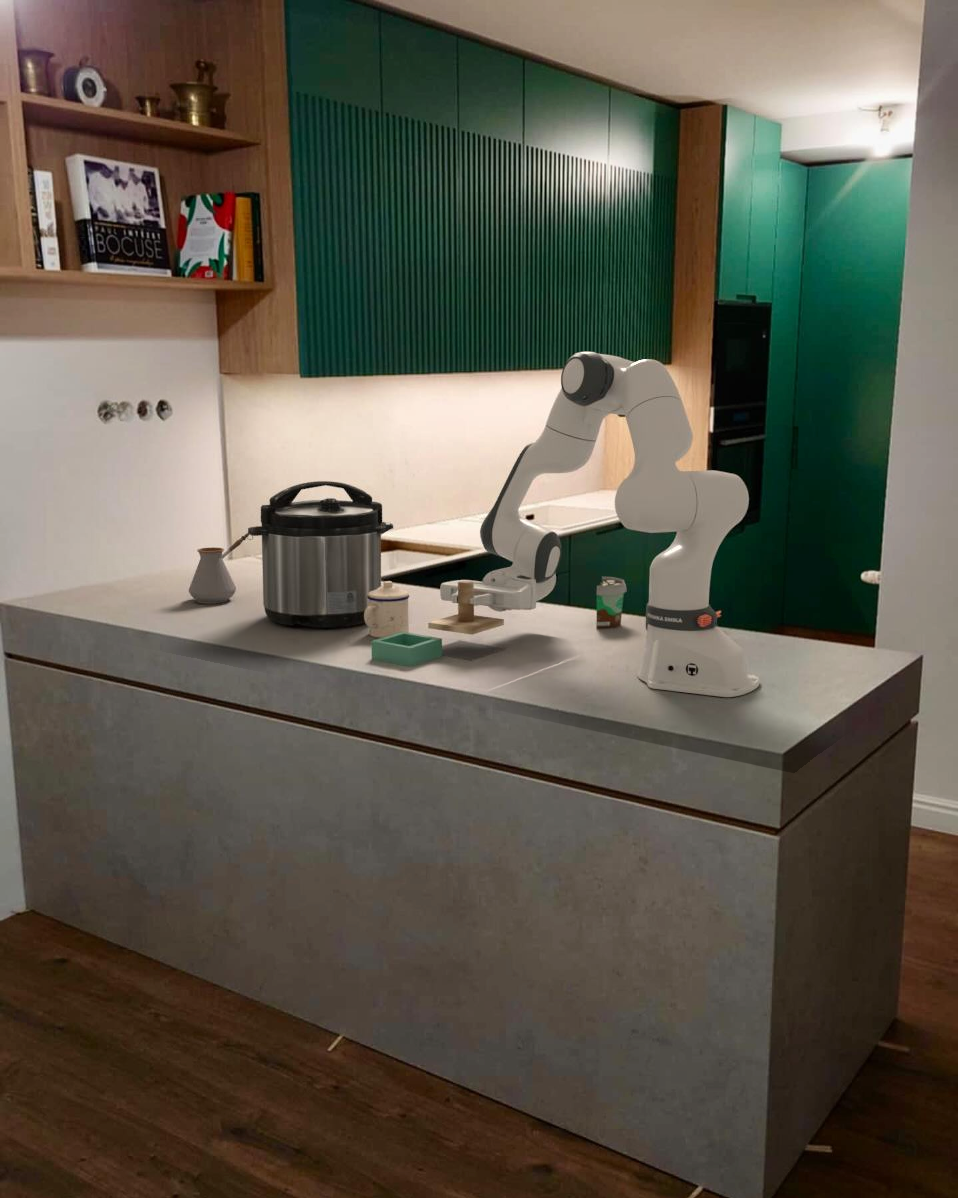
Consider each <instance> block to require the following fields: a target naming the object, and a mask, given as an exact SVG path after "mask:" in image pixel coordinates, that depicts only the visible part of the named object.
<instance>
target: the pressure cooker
mask: <svg viewBox="0 0 958 1198" xmlns="http://www.w3.org/2000/svg"><path fill="white" fill-rule="evenodd" d="M325 486H328V487H333V488H339V489H343V490H344V491H345V492H346V494H347V495H348V497H349V498H350V500H339V499H336V498H328V497H327V498H324V499H314V500H312V499H311V500H303V501H302V500H301V501H300V500H299V501H294V500H295V499H296V498H297V496H298V495H299V494H300V492H301V491H303V490H308V489H312V488H313V489H314V488H318V487H319V488H320V487H325ZM293 501H294V502H293ZM260 523H261V526H250V527H248V528H247V533H249V534H250V536H251V535H252V536H253V537H256V536H261V552H262V553H261V561H262V562H261V563H262V593H263V594H262V595H263V596H262V599H263V603H262V604H263V608H264V612H265V615H266V616H267V618H268V619H270V620H271V621H274V622H275V623H277V624H280V625H285V626H293V625H296V624H298V625H303V626H305V627H309V628H310V627H311V628H327V629H328V628H340V627H350V626H354V625H360V624H363V623H365V620H364V612H365V610H366V608H367V607H368V606H369V602H368V598H367V596H368V593H369V592H371V591H373V590H376V589H378V588H379V587H381V586H382V535H383V534H385V533H386V532H388V531H390V530H393V529H394V524H393V523H391V522H387V521H383V504H382V503H381V502H377V501H373V497H372V496H371V495H370V494H369V493H367V491H364V490H363V489H361V488H359V487H356V486H354V485H351V484H347V483H343V482H339V481H330V480H329V481H328V480H325V481H324V480H322V481H321V480H319V481H309V482H303V483H299V484H295V485H292V486H290V487H286V488H285V489H283V490H281V491H279V492H277V493H276V494H274V495H272V496H271V497H270V498H269V504H263V505H261V506H260ZM252 536H251V537H252Z"/></svg>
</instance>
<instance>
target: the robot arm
mask: <svg viewBox="0 0 958 1198" xmlns="http://www.w3.org/2000/svg"><path fill="white" fill-rule="evenodd" d="M560 386H561V388H560V390H559V392H558V394H557V395H556V398H555V400H554V402H553V404H552V406H551V409H550V411H549V414H548V418H547V420H546V423H545V426H544V429H543V431H542V432H541V434H540V436H539V437H538V438H537V439H536V440H535V441H534V442H530V443H528V444H526V445H525V446H524V447H523V449H522V450H521V452H520V453H519V455H518V456H517V458H516V460H515V462H514V464H513V466H512V468H511V470H510V471H509V473H508V476H507V478H506V480H505V482H504V485H503V486H502V488H501V491H500V493H499V495H498V496H497V499H496V501H495V503H494V504H493V506H492V508H491V510H490V511H489V512H488V513H487V516H486V517H485V518H484V520H483V521H482V524H481V526H480V530H479V537H480V540H481V543H482V546H483V548H484V550H485V551H486V552H487V553H490V554H493V555H495V556H498V557H502V558H504V559H506V560H508V561H509V562H512V564H511V566H508V567H503V568H499V569H495V570H492V571H489V572H488V573H486V574H485V576H484V577H483V578H482V580H481V581H479V580H471V579H460V580H459V579H457V580H450V581H446V582H445V581H444V582H442V583H441V584H440V589H439V590H440V591H439V592H440V599H441V600H442V601H446V602H451V603H453V604H458V582H459V581H473V582H474V596H471V597H470V605H474V607H478V606H483V607H484V606H485V607H488V608H490V609H491V610H493V611H494V612H495V611H496V612H502V613H503V612H506V611H512V610H516V611H517V610H518V611H521V610H522V611H523V610H527V611H531V610H534V609H536V608H537V602H538V601H540V600H543V599H544V598H545V597H547V596H548V595H549V594H550V593H551V592H552V591H553V590H554V588H555V586H556V583H557V576H556V575H557V574H556V572H557V570H558V568H559V565H560V562H561V559H562V554H563V553H562V544H561V540H560V537H559V535H558V534H557V533H556V532H555V531H552V530H551V529H549V528H546V527H545V526H543V525H541V524H538V523H536V522H533V521H530V520H529V519H527V518H525V517H522V516H521V515H520V513H519V509H520V507H521V504H522V503H523V500H524V499H525V497H526V495H527V493H528V491H529V488H530V486H531V484H532V483H533V481H534V479H536V478H537V477H538V476H540V475H543V474H566V473H567V474H568V473H572V472H576V471H578V470H579V469H581V468H582V467H584V466H585V465H586V464H587V463H588V462H589V460H590V459H591V457H592V454H593V452H594V449H595V446H596V443H597V439H598V436H599V433H600V430H601V427H602V426H601V425H602V423H603V421H604V419H605V418H607V416H609V415H610V414H611V415H617V416H618V417H619V418H625V420H626V424H627V427H628V430H629V434H630V438H631V443H632V447H633V451H634V463H633V467H632V469H631V471H630V473H629V475H627V477H626V478H624V479H623V480H622V481H621V483H619V486H618V487H617V490H616V493H615V497H614V508H615V509H614V510H615V512H616V516H617V518H618V520H619V522H620V523H621V524H622V525H623V526H624V528H626V529H627V530H631V531H638V532H642V533H643V532H644V533H650V534H653V533H655V534H657V533H671V532H672V533H673V532H676V534H675V538H674V539H673V541H672V542H671V544H670V546H669V547H667V548H666V549H665V550H663V551H662V552H660V553H659V554H658V555H656V556H655V557H654V559H653V560H652V562H651V564H650V566H649V578H648V579H649V584H648V588H649V589H648V602H647V603H646V610H645V631H646V636H645V645H644V651H643V656H642V661H641V664H640V668H639V671H638V673H637V677H638V678H639V679H640V680H641V681H643V682H644V683H646V685H647V687H648V688H649V689H654V690H663V691H670V692H681V693H688V694H689V693H690V694H696V695H703V696H710V697H711V696H713V697H722V698H733V697H738V696H743V695H747V694H748V693H750V692H752V691H754V690H756V689H757V688H758V687H759V686H760V678H759V677H758V676H757V675H754V674H749V669H748V661H747V656H746V653H745V650H744V649H743V647H741V646H740V645H738V644H737V643H736V642H735V641H734V640H732V639H731V638H730V637H729V636H728V635H727V634H726V633H725V632H723V630H721V629H720V628H719V627H718V626H717V625H718V618H720V617H722V615H721V613H722V610H718V611H715V610H714V609H713V608H712V607H711V605H710V604H709V602H710V601H709V600H710V587H711V578H712V577H711V576H712V569H713V568H712V567H713V563H714V560H715V557H716V555H717V552H718V549H719V547H720V545H721V544H722V542H723V540H724V539H725V537H726V536H727V534H728V533H729V532H730V531H731V530H732V529H733V528H734V527H735V526H736V525H738V524H739V523H740V522H741V521H742V520H744V519H743V518H744V517H745V516H746V514H747V511H748V509H749V504H750V503H749V501H750V497H749V490H748V488H747V485H746V483H745V481H743V479H742V478H741V477H740V476H739V475H737V474H735V473H730V472H725V471H720V470H713V469H711V470H709V469H708V470H685V471H683V470H680V469H679V468H678V466H677V462H678V461H680V460H682V458H684V457H685V456H686V455H687V453H689V450H691V447H692V444H693V438H694V437H693V435H694V433H693V431H692V427H691V425H690V422H689V419H688V416H687V412H686V410H685V409H686V408H685V405H684V403H683V400H682V397H681V395H680V392H679V390H678V388H677V386H676V383H675V381H674V378H673V377H672V376H671V374H670V372H669V371H668V368H667V367H666V366H665V365H664V364H663V363H662V362H660V361H658V360H655V359H652V358H651V359H650V358H647V359H641V360H640V359H639V360H638V361H633V360H632V361H631V360H629V359H626V358H623V357H621V356H616V355H611V354H603V353H597V352H595V351H580V352H576V353H574V354H573V355H571V356H570V357H569V358H568V359H567V361H566V363H565V365H564V366H563V368H562V372H561V376H560Z"/></svg>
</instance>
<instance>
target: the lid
mask: <svg viewBox="0 0 958 1198" xmlns="http://www.w3.org/2000/svg"><path fill="white" fill-rule="evenodd" d="M473 581H474V580H472V581H459V582H458V603H457V611H458V612H457V614H454V615H450V616H446V617H444V618H440V619H439V618H438V619H436V620H432V621H428V622H427V627H428V629H431V630H438V631H445V632H450V633H451V632H452V633H457V634H465V635H475V634H480V633H482V632H485V631H489V630H492V629H496V628H499V627H501V626H504V625H505V620H504V619H503V618H498V617H489V616H481V615H476V614H475V606H474V605H470V597H471V596H474V582H473Z"/></svg>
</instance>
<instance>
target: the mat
mask: <svg viewBox="0 0 958 1198" xmlns="http://www.w3.org/2000/svg"><path fill="white" fill-rule="evenodd" d="M504 650H506V648H504V647H499V646H495V645H494V646H493V645H487V644H482V643H476V642H471V641H465V640H457V641H453V642H451V643H447V644H443V645H442V657H443V656H444V657H450V658H454V659H458V660H459V659H460V660H465V661H470V662H471V661H475V660H478V659H481V658H484V657H488V656H489V655H493V654H495V653H498V652H500V651H504Z"/></svg>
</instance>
